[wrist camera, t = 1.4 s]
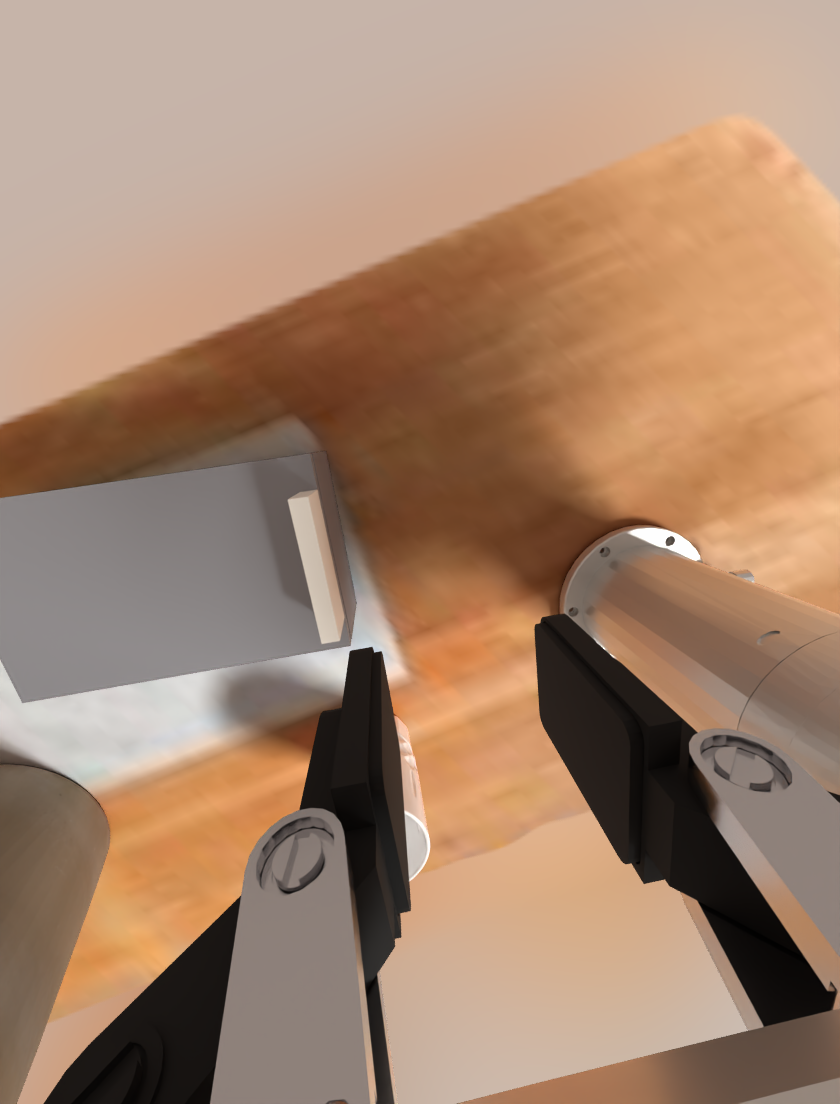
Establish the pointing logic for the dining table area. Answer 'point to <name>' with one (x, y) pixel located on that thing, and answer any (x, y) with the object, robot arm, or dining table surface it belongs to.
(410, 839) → the white cup
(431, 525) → the dining table surface
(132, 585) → the mailer lid
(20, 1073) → the plant pot
